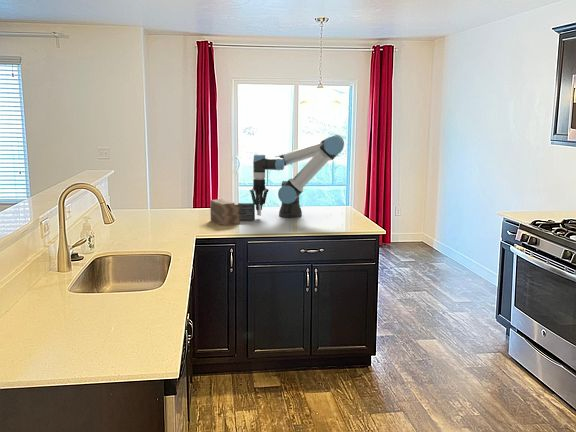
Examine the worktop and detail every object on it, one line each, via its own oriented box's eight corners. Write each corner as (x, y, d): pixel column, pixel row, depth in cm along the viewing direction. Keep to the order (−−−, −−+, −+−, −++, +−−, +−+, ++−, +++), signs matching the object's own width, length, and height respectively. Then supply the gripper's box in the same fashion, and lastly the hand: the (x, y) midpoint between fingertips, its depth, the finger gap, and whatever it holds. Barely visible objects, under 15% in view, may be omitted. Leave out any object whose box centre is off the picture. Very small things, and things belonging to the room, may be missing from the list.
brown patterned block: (226, 219, 372) (226, 198, 370) (239, 223, 357) (239, 202, 355) (210, 220, 366) (210, 200, 364) (223, 225, 351) (222, 204, 349)
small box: (255, 219, 372) (255, 203, 370) (253, 221, 366) (253, 204, 364) (238, 218, 373) (238, 202, 371) (237, 220, 367) (236, 204, 365)
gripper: (265, 177, 376) (265, 213, 381) (247, 178, 370) (247, 215, 374) (271, 178, 370) (270, 215, 374) (252, 179, 363) (252, 217, 368)
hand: (258, 215), depth 374 cm, fingers closed
